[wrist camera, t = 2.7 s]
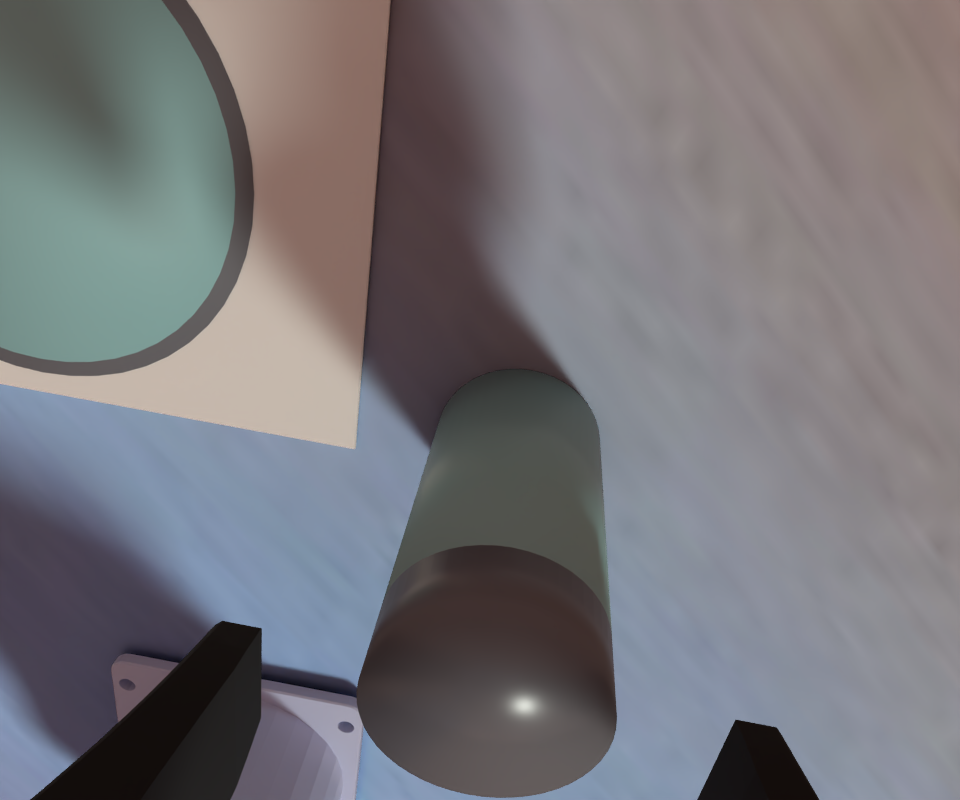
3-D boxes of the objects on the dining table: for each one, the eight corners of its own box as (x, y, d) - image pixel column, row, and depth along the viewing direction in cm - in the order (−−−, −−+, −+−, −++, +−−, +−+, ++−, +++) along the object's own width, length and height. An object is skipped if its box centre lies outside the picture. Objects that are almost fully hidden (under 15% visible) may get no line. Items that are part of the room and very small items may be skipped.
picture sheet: (355, 446, 19) (354, 450, 19) (-250, 335, 19) (-256, 337, 19) (400, -119, 13) (398, -121, 13) (-467, -263, 14) (-477, -266, 13)
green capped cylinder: (580, 520, 19) (585, 817, 12) (428, 492, 20) (348, 771, 13) (617, 385, 17) (646, 647, 10) (448, 355, 18) (365, 594, 11)
